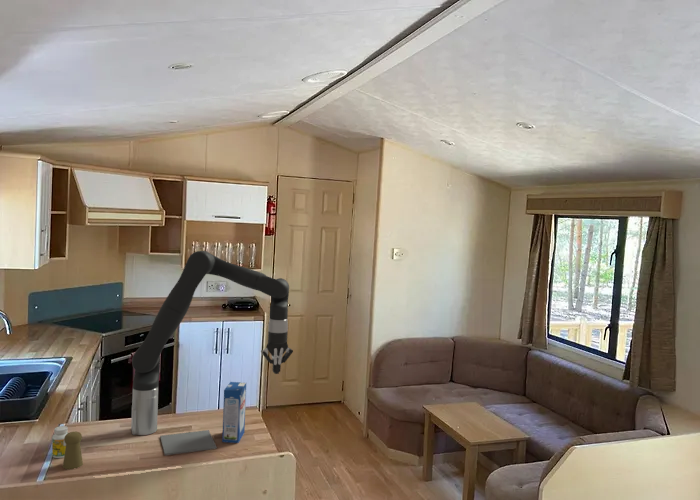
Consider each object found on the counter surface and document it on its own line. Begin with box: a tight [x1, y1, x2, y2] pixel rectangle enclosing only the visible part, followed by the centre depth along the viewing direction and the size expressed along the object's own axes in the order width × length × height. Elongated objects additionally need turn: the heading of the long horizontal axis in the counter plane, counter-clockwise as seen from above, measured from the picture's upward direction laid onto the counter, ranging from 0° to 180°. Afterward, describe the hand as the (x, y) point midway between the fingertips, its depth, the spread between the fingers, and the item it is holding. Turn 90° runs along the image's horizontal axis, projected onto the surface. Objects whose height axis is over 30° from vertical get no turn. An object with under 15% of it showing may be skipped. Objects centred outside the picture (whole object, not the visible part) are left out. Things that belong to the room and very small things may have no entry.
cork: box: [62, 431, 84, 470], centre depth 183 cm, size 6×6×11 cm
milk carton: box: [221, 381, 247, 444], centre depth 211 cm, size 10×6×20 cm, turn 178°
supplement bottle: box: [51, 425, 69, 459], centre depth 189 cm, size 5×5×10 cm
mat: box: [159, 429, 218, 456], centre depth 205 cm, size 18×16×1 cm
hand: (276, 373), depth 217 cm, fingers closed
